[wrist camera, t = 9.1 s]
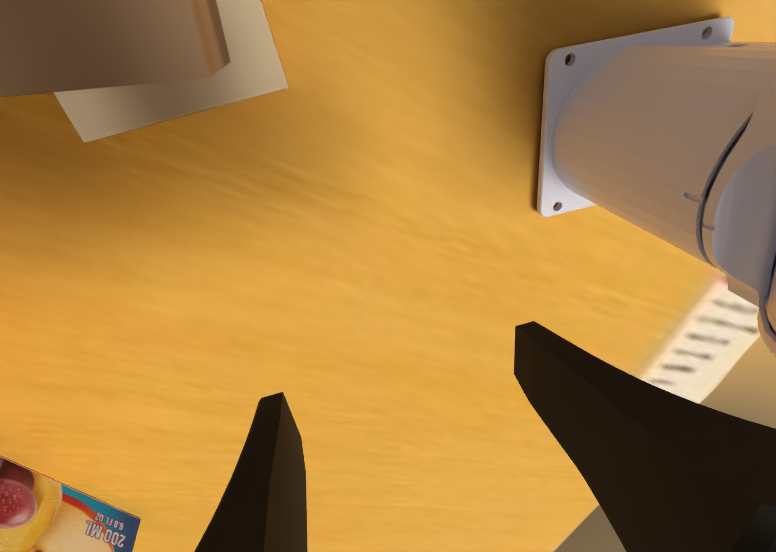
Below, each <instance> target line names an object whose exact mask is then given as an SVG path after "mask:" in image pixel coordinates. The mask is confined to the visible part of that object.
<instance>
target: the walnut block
mask: <svg viewBox="0 0 776 552" xmlns="http://www.w3.org/2000/svg"><path fill="white" fill-rule="evenodd" d="M229 63H230V57H229V53H228V49H227V44H226V40H225V36H224V32H223V27H222V23H221V19H220V15H219V10H218V6H217V2H216V0H0V97H7V96H18V95H29V94H40V93H51V92H62V91H73V90H84V89H95V88H106V87H117V86H128V85H139V84H150V83H161V82H172V81H183V80H194V79H205V78H211V77H212V76H213V75H215V74H216V73H217V72H218V71H220V70H221V69H222V68H224V67H225V66H226V65H228V64H229Z"/></svg>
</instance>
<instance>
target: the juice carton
mask: <svg viewBox="0 0 776 552" xmlns="http://www.w3.org/2000/svg"><path fill="white" fill-rule="evenodd" d="M140 520H141V519H140V518H138V517H136V516H134V515H131V514H129V513H127V512H125V511H122V510H120V509H118V508H116V507H114V506H111V505H109V504H107V503H105V502H102V501H100V500H98V499H96V498H93V497H91V496H89V495H87V494H84V493H82V492H80V491H78V490H76V489H73V488H71V487H69V486H67V485H64V484H62V483H60V482H58V481H55V480H53V479H51V478H49V477H46V476H44V475H42V474H40V473H37V472H35V471H33V470H31V469H29V468H26V467H24V466H22V465H20V464H17V463H15V462H13V461H11V460H8V459H6V458H4V457H2V456H0V552H132V550H133V546H134V543H135V539H136V535H137V531H138V528H139V524H140Z"/></svg>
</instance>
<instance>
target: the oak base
mask: <svg viewBox="0 0 776 552" xmlns="http://www.w3.org/2000/svg"><path fill="white" fill-rule="evenodd" d="M216 2H217V6H218V10H219V15H220V19H221V23H222V27H223V32H224V36H225V40H226V44H227V49H228V53H229V57H230V63H229V64H228V65H226V66H225V67H224V68H222V69H221V70H220V71H218V72H217V73H216V74H215V75H213V76H212V77H211V78H205V79H194V80H183V81H172V82H161V83H150V84H139V85H128V86H117V87H106V88H95V89H84V90H73V91H62V92H53V93H54V95H55V96H56V98H57V100H58V101H59V103H60V104H61V106H62V108H63V109H64V111H65V113H66V114H67V116H68V117H69V119H70V121H71V122H72V124H73V126H74V127H75V129H76V131H77V132H78V134H79V135H80V137H81V139H82V140H83V142H84V143H86V142H89V141H93V140H97V139H100V138H104V137H108V136H112V135H115V134H119V133H123V132H126V131H130V130H134V129H138V128H141V127H145V126H149V125H152V124H156V123H160V122H164V121H167V120H171V119H175V118H178V117H182V116H186V115H190V114H193V113H197V112H201V111H204V110H208V109H212V108H216V107H219V106H223V105H227V104H230V103H234V102H238V101H241V100H245V99H249V98H253V97H256V96H260V95H264V94H267V93H271V92H275V91H279V90H282V89H286V88H288V85H287V81H286V78H285V75H284V72H283V69H282V65H281V62H280V59H279V56H278V53H277V50H276V47H275V44H274V40H273V37H272V34H271V31H270V28H269V25H268V22H267V18H266V15H265V12H264V9H263V6H262V3H261V0H216Z"/></svg>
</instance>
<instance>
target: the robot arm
mask: <svg viewBox="0 0 776 552" xmlns="http://www.w3.org/2000/svg"><path fill="white" fill-rule="evenodd" d="M704 29H705V32H704V35H703V36H702V33H703V31H704ZM733 29H734V20H733V19H732V18H731V17H720V18H715V19H710V20H704V21H699V22H694V23H689V24H683V25H678V26H673V27H668V28H662V29H657V30H652V31H647V32H641V33H636V34H631V35H626V36H620V37H615V38H610V39H604V40H599V41H594V42H589V43H583V44H578V45H573V46H568V47H562V48H557V49H554V50H552V51H551V52H550V53H549V54H548V56H547V58H546V62H545V76H544V93H543V110H542V128H541V145H540V162H539V180H538V197H537V212H538V213H539V214H540V215H541V216H543V217H550V216H554V215H558V214H562V213H566V212H570V211H574V210H578V209H582V208H586V207H590V206H594V205H598V206H600V207H602V208H604V209H606V210H608V211H609V212H611V213H613V214H615V215H617V216H619V217H621V218H623V219H625V220H626V221H628V222H630V223H632V224H634V225H636V226H638V227H640V228H642V229H643V230H645V231H647V232H649V233H651V234H653V235H655V236H657V237H659V238H660V239H662V240H664V241H666V242H668V243H670V244H672V245H674V246H675V247H677V248H679V249H681V250H683V251H685V252H687V253H689V254H691V255H692V256H694V257H696V258H698V259H700V260H702V261H704V262H706V263H708V264H709V265H711V266H713V267H715V268H718V269H719V270H721V271H722V272H723V273H725V275H726V277H727V279H728V290H729V291H731V292H733V293H735V294H736V295H738V296H740V297H742V298H744V299H745V300H747V301H749V302H751V303H752V304H754V305H756V306H758V307H759V312H758V316H757V320H758V328H759V331H760V334H761V336H762V339H763V341H764V342H765V344H766V345H767V347H768V348H769V350H770V351H771V352H772V354H774V356H776V43H768V42H730V40H731V37H732V33H733ZM568 54H570V61H569V63H568V64H567V65H566V64H565V58H566V56H567V55H568ZM557 202H558V204H557V206H556V207H555V208H553V206H554V204H555V203H557ZM514 375H515V376H516V378H517V380H518V382H519V384H520V386H521V388H522V390H523V391H524V393H525V395H526V397H527V398H528V400H529V402H530V403H531V405H532V406H533V408H534V409H535V410H536V412H537V413H538V415H539V416H540V417H541V419H542V420H543V422H544V423H545V424H546V426H547V427H548V428H549V430H550V431H551V433H552V434H553V435H554V437H555V438H556V439H557V441H558V442H559V443H560V445H561V446H562V448H563V449H564V450H565V452H566V453H567V454H568V456H569V457H570V459H571V460H572V461H573V463H574V464H575V465H576V467H577V468H578V470H579V471H580V473H581V474H582V476H583V477H584V479H585V481H586V482H587V484H588V486H589V487H590V489H591V491H592V492H593V494H594V496H595V497H596V499H597V501H598V502H599V504H600V506H601V507H602V509H603V511H604V513H605V514H606V516H607V518H608V520H609V521H610V523H611V525H612V527H613V528H614V530H615V532H616V534H617V535H618V537H619V539H620V541H621V542H622V544H623V546H624V548H625V550H626V551H627V552H776V429H775V428H771V427H768V426H764V425H761V424H758V423H754V422H751V421H747V420H744V419H741V418H738V417H735V416H732V415H729V414H726V413H723V412H720V411H717V410H714V409H712V408H708V407H706V406H703V405H700V404H698V403H695V402H692V401H690V400H687V399H684V398H682V397H679V396H677V395H675V394H672V393H670V392H667V391H665V390H663V389H660V388H658V387H656V386H653V385H651V384H649V383H647V382H644V381H642V380H640V379H638V378H636V377H634V376H632V375H630V374H628V373H626V372H624V371H622V370H620V369H618V368H616V367H614V366H612V365H610V364H608V363H606V362H604V361H602V360H601V359H599V358H597V357H595V356H593V355H591V354H590V353H588V352H586V351H584V350H583V349H581V348H579V347H577V346H576V345H574V344H572V343H570V342H569V341H567V340H565V339H564V338H562V337H560V336H558V335H557V334H555V333H553V332H552V331H550V330H548V329H547V328H545V327H543V326H541V325H540V324H538V323H536V322H534V321H532V322H529V323H525V324H522V325H518V326H516V327H515V357H514ZM194 552H307V509H306V471H305V463H304V455H303V448H302V441H301V436H300V433H299V431H298V428H297V426H296V423H295V421H294V418H293V416H292V414H291V411H290V409H289V406H288V404H287V401H286V399H285V396H284V394H283V392H281V393H277V394H274V395H270V396H267V397H263V398H261V399H260V401H259V403H258V406H257V410H256V413H255V416H254V419H253V422H252V425H251V428H250V431H249V434H248V436H247V439H246V442H245V445H244V447H243V450H242V452H241V455H240V457H239V460H238V462H237V465H236V467H235V470H234V472H233V475H232V477H231V479H230V481H229V484H228V486H227V488H226V490H225V492H224V495H223V497H222V499H221V501H220V503H219V505H218V508H217V510H216V512H215V514H214V516H213V518H212V520H211V522H210V524H209V525H208V527H207V529H206V531H205V533H204V535H203V537H202V539H201V540H200V542H199V544H198V546H197V548H196V550H195V551H194Z"/></svg>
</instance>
